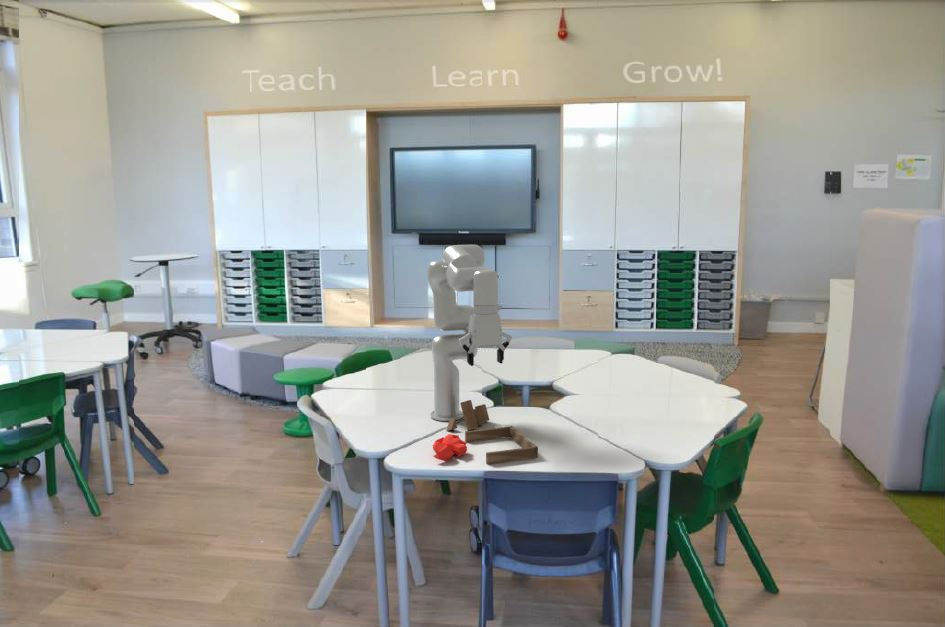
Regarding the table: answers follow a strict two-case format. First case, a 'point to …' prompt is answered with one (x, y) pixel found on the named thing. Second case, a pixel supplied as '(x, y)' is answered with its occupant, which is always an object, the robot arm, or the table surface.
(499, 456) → the frame
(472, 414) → the wooden block set
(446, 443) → the animal figurine
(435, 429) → the table surface
